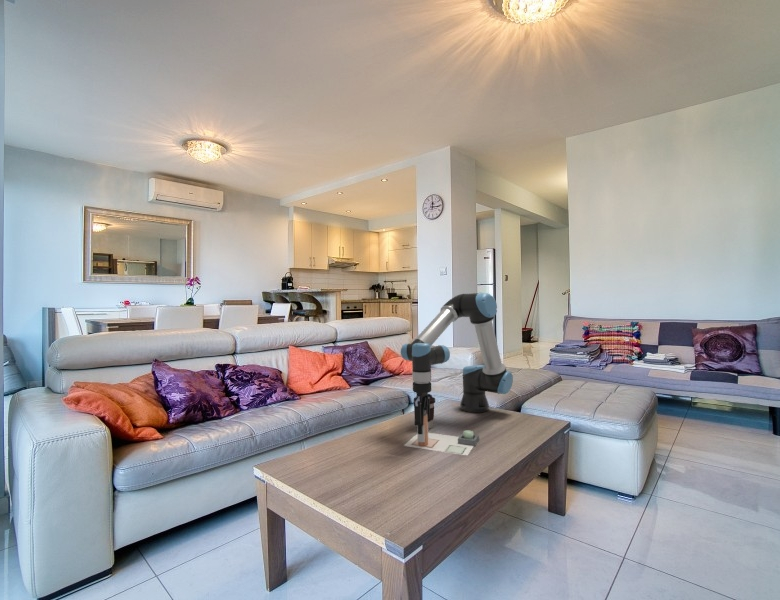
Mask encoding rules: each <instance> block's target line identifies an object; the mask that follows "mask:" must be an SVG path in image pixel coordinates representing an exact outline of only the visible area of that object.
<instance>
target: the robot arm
mask: <svg viewBox="0 0 780 600" xmlns="http://www.w3.org/2000/svg"><path fill="white" fill-rule="evenodd" d="M497 309H498V305H497V301H496V299H495V297H494V296H493V295H492V294H490V293H489V292H487V293H486V292H476V293H475V292H474V293H461V294H458V295H455V296H454V297H451V299H449V300H448V301H447V302H445V303H444V304H443V305H442V307H440V311H439V312H438V314H437V315H435V317H434V318H433V319H432V320H431V321H430V322H429V324H428V325H427V326H426V327H425V328H424V329H423V330H422V331H421V333H419V334H418V335H417V336H416V338H414V340H413V341H412V342H411V343H405V344H403V345H402V346H401V349H400V356H401V358H402V359H403V360H405V361H409V362H411V363H412V364H411V366H412V368H411V369H412V372H411V376H412V391H413V392H414V393H416V396H415V397H416V401H414V400H413V402H412V403H413V407H414V408H413V412H414V415H413V416H414V426H416V427H417V428H416V429H417V430H416V432H417V433H416V434H417V435H418V442H425V435H424V425H423V420H424V410H426V414H427V415H428V422H430V395H431V394H430V392H432V366H434V365H441V364H444V363H447V362H448V361H449V360H450V357H451V351H450V349H449V348H448V347H447V346H446V345H440V344H438V345H433V344H434V343H436V341H437V340H438V339H439V337H441V335H442V334H443V333H444V332H445V331H446V330H447V328H448V327H449V326H450V325H451V324H452V323H454V322H456V321H457V320H458V319H460V318H469V321H470V324H472V325H473V326H474V329H475V332H476V338H477V340H478V344H479V348H480V354H481V357H482V361H483V364H477V365H475V364H474V365H467V366H465V367H463V369H462V390H463V391H462V397H461V400H460V403H459V404H460V405H459V407H460V410H461V411H464V412H469V413H484V412H488V411H489V410H490V406H489V405H490V404H489V401H488V398H487V395H486V392H487V393H495V394H497V395H507V394H508V393H510V391H511V389H512V386H513V383H514V382H513V381H514V376H513V373H512V372H511V371H509V370H507V368H506V364H504V363H502V359H501V354H500V350H499V346H498V343H497V342H498V341H497V338H496V333H495V330H494V325H493V321H494V319H495V316H496V314H497V312H498V310H497Z"/></svg>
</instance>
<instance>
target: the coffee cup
mask: <svg viewBox="0 0 780 600" xmlns="http://www.w3.org/2000/svg"><path fill="white" fill-rule="evenodd" d="M414 401H416V396H415V397H414V398H413V402H414ZM435 403H436V398H435V397H433V396H432V394H430V422H428V430H430V429H433V428H434V419H435Z"/></svg>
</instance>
